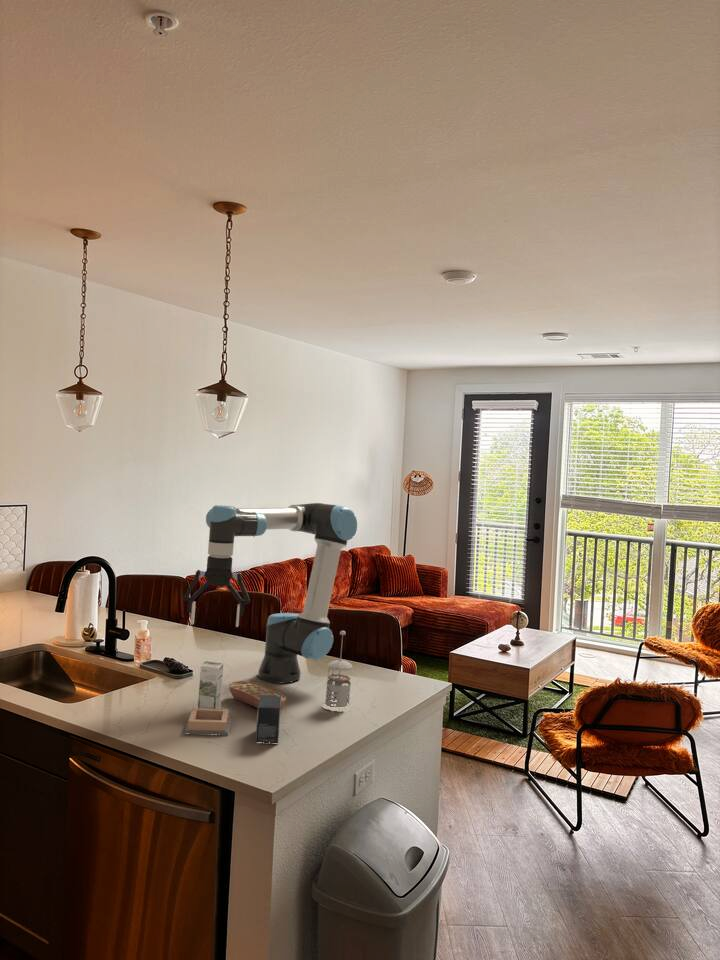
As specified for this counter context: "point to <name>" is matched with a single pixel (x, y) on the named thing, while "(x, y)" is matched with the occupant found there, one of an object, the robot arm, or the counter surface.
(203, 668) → the syrup box
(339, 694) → the french press
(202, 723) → the pink square open tray
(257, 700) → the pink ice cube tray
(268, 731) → the small box
